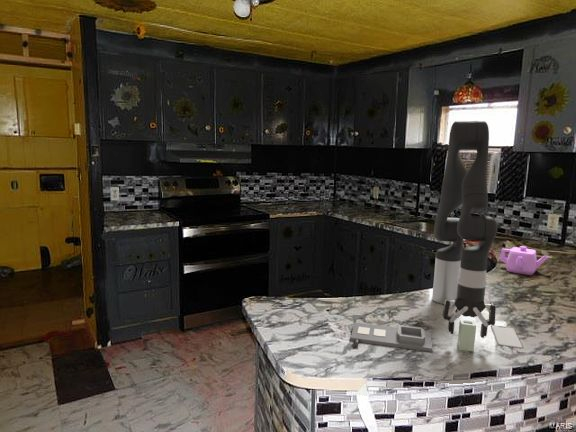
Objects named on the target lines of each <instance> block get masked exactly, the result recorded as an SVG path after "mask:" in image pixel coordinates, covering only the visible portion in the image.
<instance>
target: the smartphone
mask: <svg viewBox="0 0 576 432" xmlns="http://www.w3.org/2000/svg"><path fill="white" fill-rule="evenodd" d="M490 330H491V331H492V334H493V337H494V339H495V342H496V344H497V345H498V346H501V347H511V348H515V349H524V348H525V346H524V345H523V342H522V340H521V339H520V337H519V335H518V333H517V331H516V329H515V328H514V327H509V326H501V325H490Z"/></svg>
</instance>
